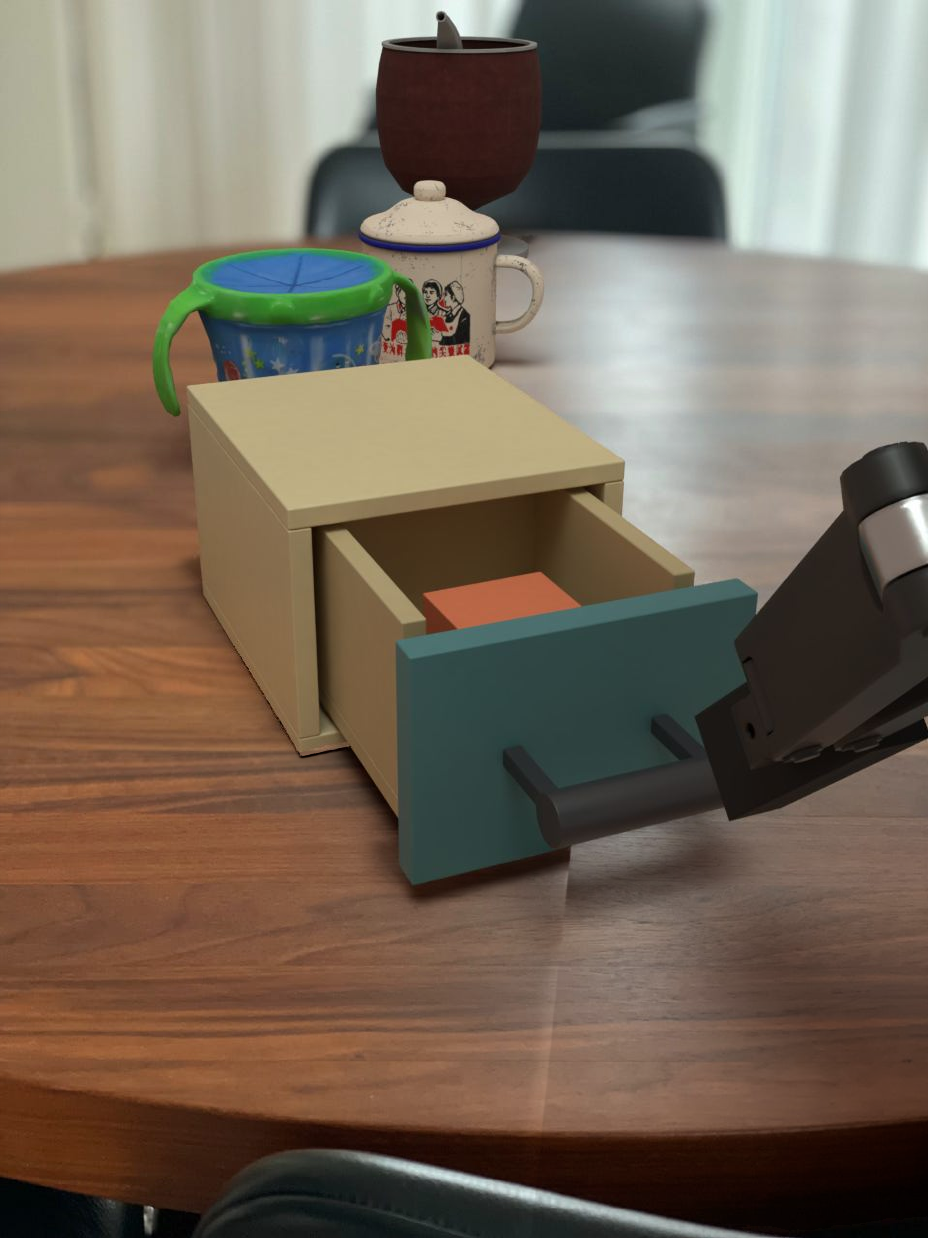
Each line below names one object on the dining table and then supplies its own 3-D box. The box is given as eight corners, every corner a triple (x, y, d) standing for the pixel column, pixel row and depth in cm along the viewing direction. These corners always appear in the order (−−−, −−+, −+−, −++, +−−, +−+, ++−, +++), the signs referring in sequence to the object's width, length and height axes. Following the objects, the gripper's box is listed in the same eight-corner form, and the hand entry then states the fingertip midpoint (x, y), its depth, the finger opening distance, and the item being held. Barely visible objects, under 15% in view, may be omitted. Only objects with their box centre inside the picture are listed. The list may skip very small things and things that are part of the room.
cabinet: (612, 693, 56) (626, 459, 52) (300, 758, 52) (287, 509, 48) (466, 552, 68) (467, 353, 64) (202, 595, 64) (185, 384, 60)
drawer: (812, 880, 44) (844, 653, 41) (467, 974, 40) (470, 732, 37) (555, 634, 59) (562, 451, 55) (284, 685, 55) (274, 492, 51)
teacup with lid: (345, 378, 93) (340, 191, 88) (380, 340, 101) (377, 167, 96) (530, 390, 91) (535, 200, 86) (551, 351, 99) (557, 175, 94)
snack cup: (186, 504, 73) (169, 305, 69) (141, 440, 82) (123, 259, 78) (468, 463, 79) (469, 277, 74) (398, 407, 88) (395, 237, 83)
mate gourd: (396, 233, 134) (394, -3, 125) (546, 239, 132) (554, 0, 123) (357, 270, 120) (351, 9, 111) (524, 278, 118) (531, 12, 109)
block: (536, 683, 53) (540, 571, 51) (596, 742, 49) (603, 623, 47) (423, 707, 51) (422, 592, 49) (476, 771, 47) (478, 649, 45)
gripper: (1950, -120, 18) (899, 581, 39) (1155, -139, 13) (452, 667, 34) (2324, 420, 16) (1002, 850, 37) (1539, 617, 11) (542, 980, 32)
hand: (737, 762), depth 36 cm, fingers closed
